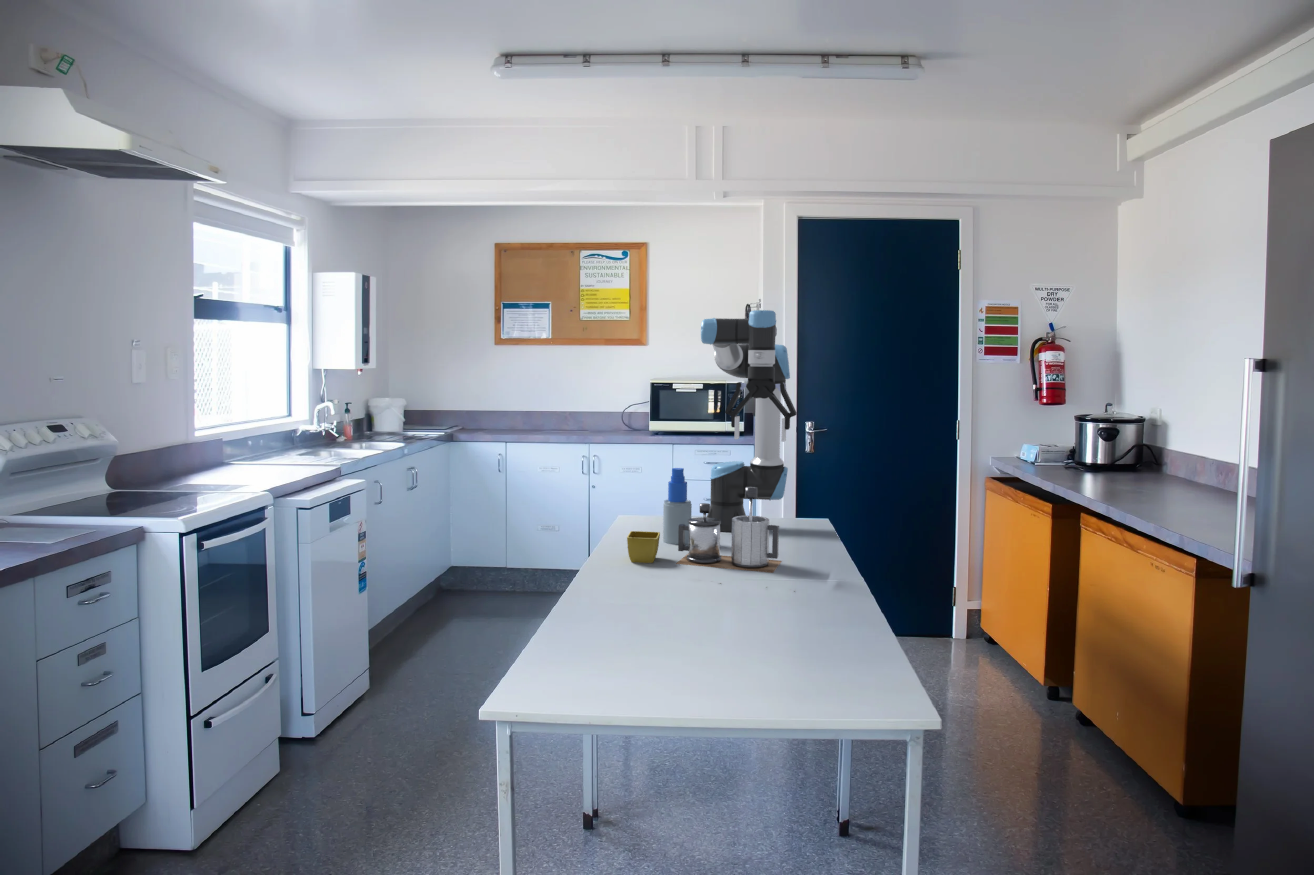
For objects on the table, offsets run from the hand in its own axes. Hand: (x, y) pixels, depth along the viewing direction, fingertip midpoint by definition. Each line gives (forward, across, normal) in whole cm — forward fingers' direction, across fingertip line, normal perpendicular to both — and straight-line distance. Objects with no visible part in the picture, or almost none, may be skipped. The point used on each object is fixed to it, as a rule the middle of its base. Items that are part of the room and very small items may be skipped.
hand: (760, 440), depth 231 cm
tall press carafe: (+35, 0, -6) cm, 35 cm away
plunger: (+32, -1, -6) cm, 32 cm away
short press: (+35, -16, -6) cm, 39 cm away
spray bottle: (+37, -29, +14) cm, 49 cm away
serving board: (+36, -7, -6) cm, 38 cm away
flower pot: (+37, -31, -12) cm, 49 cm away
